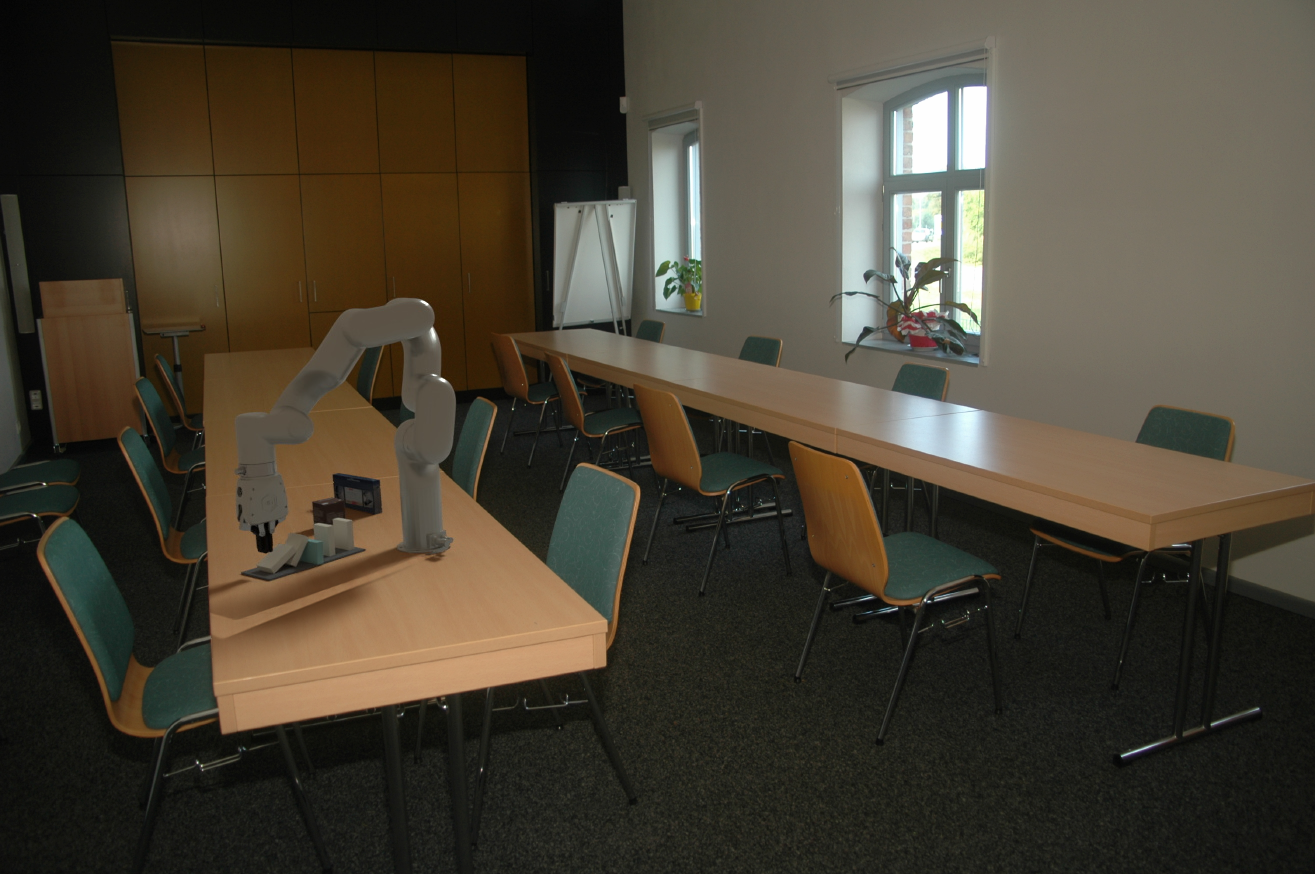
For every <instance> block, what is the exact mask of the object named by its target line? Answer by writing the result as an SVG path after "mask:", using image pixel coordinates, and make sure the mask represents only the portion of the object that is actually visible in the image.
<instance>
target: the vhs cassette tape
mask: <svg viewBox="0 0 1315 874" xmlns="http://www.w3.org/2000/svg"><path fill="white" fill-rule="evenodd" d="M332 482H333V483H332V484H333V496H334V497H333V498H337V499H341V500H344V503H345V509H346V508H347V509H350V510H355V511H359V512H363V513H367V514H372V515H375V516H376V515H378V514H383V504H382V502H383V501H382V491H381V490H382V489H381V479H376V478H373V477H366V476H360V475H354V474H348V473H340V472H338V473H333V474H332Z"/></svg>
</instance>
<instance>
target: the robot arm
mask: <svg viewBox="0 0 1315 874" xmlns="http://www.w3.org/2000/svg"><path fill="white" fill-rule="evenodd" d="M435 316H436V315H435V312H434V309H433V307H432V306H431V305H430V304H429V303H428V302H427V301H425V300H424V299H420V298H415V297H414V298H413V297H411V298H410V297H397V298H393V299H391V300H389V301H388V302H387V303H386V304H384V305H381V306H375V307H369V308H349V309H347V310H345V311H343V312H342V313H341V314H340V315H339V316H338V318H337V319H336V320H335V322H334V323H333V325H332V326H331V328H330V329H329V331H328V332H327V334H326V336H325V337H324V338H323V340H322V342H321V343H320V344H319V346H318V348H317V349H316V351H315V353H313V355H312V357H311V358H310V359H309V361H308V362H307V363H306V364H305V365H304V366H303V367H302V369H301V370H300V371H299V372H298V373H297V374H296V376H295V377H294V378H293V379H292V380H291V381H290V382H289V384H288V385H287V386H286V387H285V389H283V392H282V393H281V395H280V396H279V397H278V399H277V400H276V402H275V403H274V405H273V407H272V408H271V410H270V411H269V413H267V412H264V411H263V412H262V411H256V412H255V411H253V412H252V411H251V412H244V413H240V414H238V415H237V416H236V417H235V419H234V431H235V440H236V441H235V442H236V452H237V461H238V464H237V467H238V468H234V470H233V471H234V474H235V475H236V476H239V477H238V478H237V479H236V485H235V486H236V487H235V512H236V520H237V522H239V527H238V529H239V530H240V531H244V532H246V531H247V532H251V533H252V534H253V535H254V536H255V542H256V544H255V545H256V549H257V552H258V553H262V554H266V555H267V554H268V553H269V552H273V548H274V540H273V537H274V536H273V534H274V533H275V531H276V527H278V525H279V524H281V523H282V522H284V521H285V520H286V518H287V516H288V515H289V501H288V495H287V490H286V486H285V482H284V479H283V478H284V477H282V476H283V475H282V474H281V473H280V472H278V465H277V455H276V445H288V446H290V445H291V446H293V445H300V444H304V443H305V442H307V441H308V440H309V439H311V437H312V436H313V434H314V430H315V426H314V422H313V419H312V418H311V417H310V416H309V414H310V413H311V411H312V410H313V408H314V407H315V406H316V404H317V403H318V402H319V401H320V400H321V399H322V398H323V397H325V396H326V394H328V393H329V392H331V391H333V390H335V389H336V388H338V387H339V386H341V385H343V383H344V382H345V381H346V380H347V378H348V376H349V375H350V374H351V372H352V370H353V369H354V367H355V365H356V364H357V362H358V361H359V360H360V358H361V356H362V355H363V353H364V352H365V350H366V349H369V348H375V347H376V348H377V347H381V346H388V345H390V344H394V343H398V342H401V344H402V348H403V373H402V385H401V402H402V403H403V405H404V407H405V408H406V409H408V411H410V412H413V413H414V418H409V419H407V420H404V421H403V422H401V423H400V424H399V425H398V427H397V428H396V431H395V433H394V437H393V446H394V453H395V457H396V461H397V468H398V469H397V470H398V479H399V495H400V496H399V497H400V511H401V513H400V514H401V526H402V527H401V528H402V529H401V530H402V541H401V542H399V543H398V544H397V545H396V550H398V551H400V552H403V553H408V554H423V553H426V554H425V556H426V555H427V556H428V555H433V554H434V555H435V554H438V553H442V552H445V551H447V550H448V549H450V548H451V544H452V543H453V542H454V538H453V537H450V536H447V530H445V529H444V523H443V506H442V503H443V502H442V487H441V486H442V485H441V484H442V483H441V481H442V480H441V471H440V465H439V464H441V463H442V462H443V461H445V460H446V459H447V458H448V456H449V455H450V453H451V451H452V448H453V443H454V434H455V421H456V408H457V400H456V398H457V397H456V393H455V391H454V388H453V386H452V384H451V383H450V382H449V381H448V380H447V379H445V378H443V377H442V376H441V374H442V372H441V371H442V347H441V342H440V338H439V336H438V333H437V331H436V329H435V327H434V324H435Z"/></svg>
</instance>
